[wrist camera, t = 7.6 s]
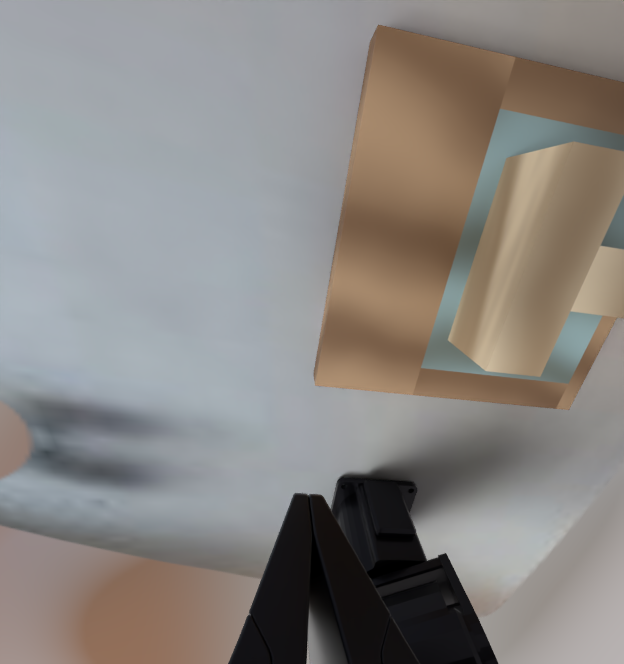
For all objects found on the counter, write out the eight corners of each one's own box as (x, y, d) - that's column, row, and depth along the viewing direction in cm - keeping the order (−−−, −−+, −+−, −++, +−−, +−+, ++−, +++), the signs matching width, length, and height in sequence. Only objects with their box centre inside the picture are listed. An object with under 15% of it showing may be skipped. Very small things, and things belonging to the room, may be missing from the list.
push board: (552, 397, 23) (568, 409, 22) (313, 374, 21) (315, 385, 20) (690, 115, 17) (726, 106, 15) (369, 42, 15) (378, 24, 13)
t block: (447, 340, 19) (485, 371, 15) (506, 158, 16) (573, 141, 12) (591, 356, 20) (659, 389, 17) (676, 189, 17) (786, 184, 13)
